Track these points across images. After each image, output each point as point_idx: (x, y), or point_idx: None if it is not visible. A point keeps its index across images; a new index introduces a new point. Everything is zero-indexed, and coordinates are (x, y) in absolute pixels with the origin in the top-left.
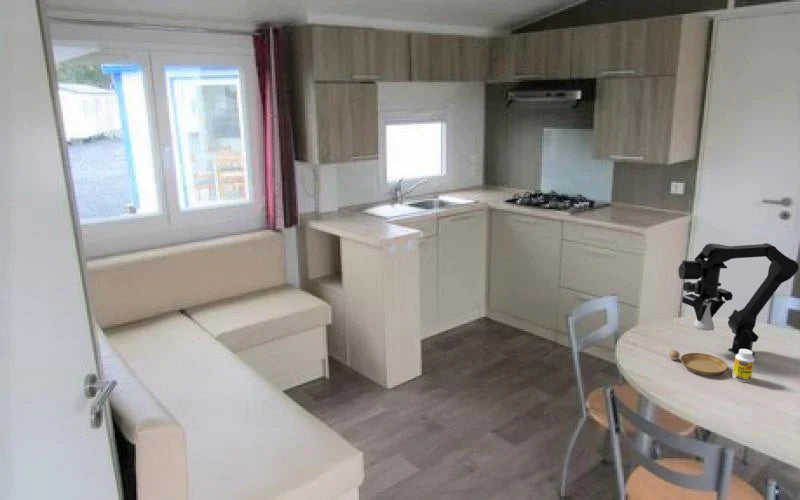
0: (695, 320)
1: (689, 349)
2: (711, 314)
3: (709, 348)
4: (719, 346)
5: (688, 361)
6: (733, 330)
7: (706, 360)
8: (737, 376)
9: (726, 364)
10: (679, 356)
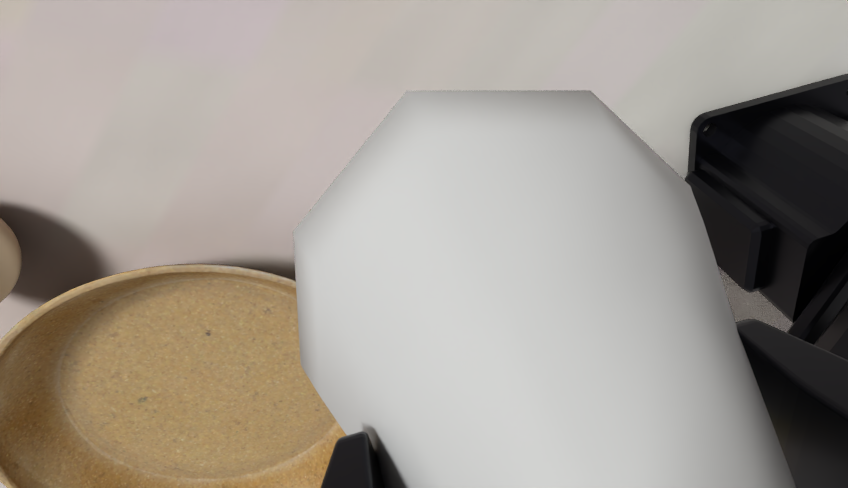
0: (393, 249)
1: (309, 11)
2: (796, 467)
3: (562, 31)
4: (705, 3)
5: (128, 292)
6: (845, 325)
7: None
8: None
9: None
10: (12, 288)
